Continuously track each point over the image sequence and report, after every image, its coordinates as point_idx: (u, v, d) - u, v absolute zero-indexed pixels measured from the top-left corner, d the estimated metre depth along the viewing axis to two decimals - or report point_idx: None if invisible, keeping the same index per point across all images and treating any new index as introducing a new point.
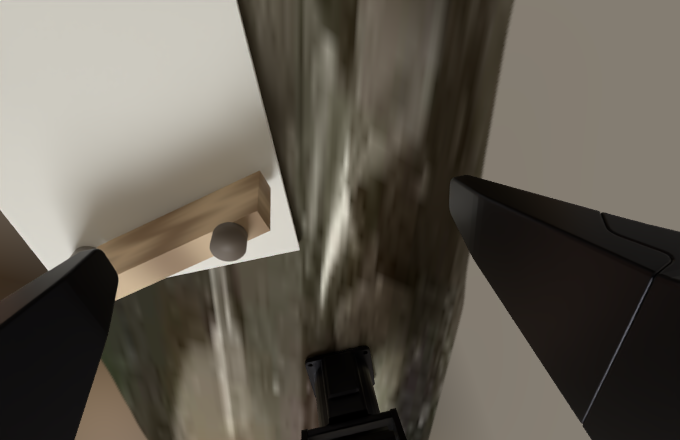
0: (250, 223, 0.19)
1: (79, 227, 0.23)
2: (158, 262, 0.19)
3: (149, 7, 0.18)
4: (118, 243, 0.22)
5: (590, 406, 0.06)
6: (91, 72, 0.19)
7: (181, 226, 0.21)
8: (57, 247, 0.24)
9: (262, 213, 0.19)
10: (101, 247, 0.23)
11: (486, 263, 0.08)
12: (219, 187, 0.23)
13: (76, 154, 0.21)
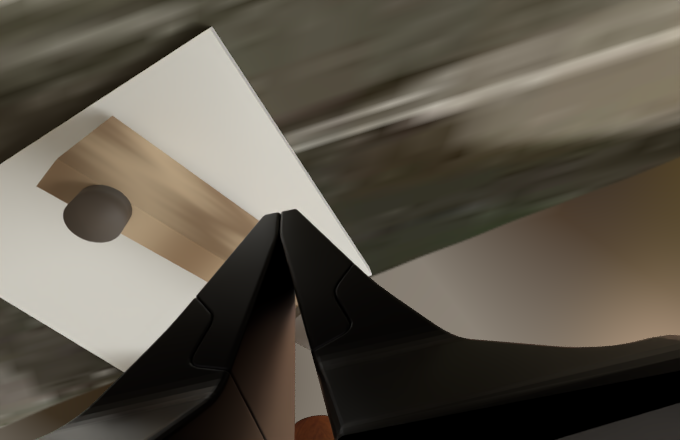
0: (64, 188, 0.12)
1: None
2: (196, 268, 0.15)
3: (12, 263, 0.20)
4: None
5: None
6: (105, 289, 0.22)
7: None
8: None
9: None
10: None
11: None
12: None
13: (193, 288, 0.23)
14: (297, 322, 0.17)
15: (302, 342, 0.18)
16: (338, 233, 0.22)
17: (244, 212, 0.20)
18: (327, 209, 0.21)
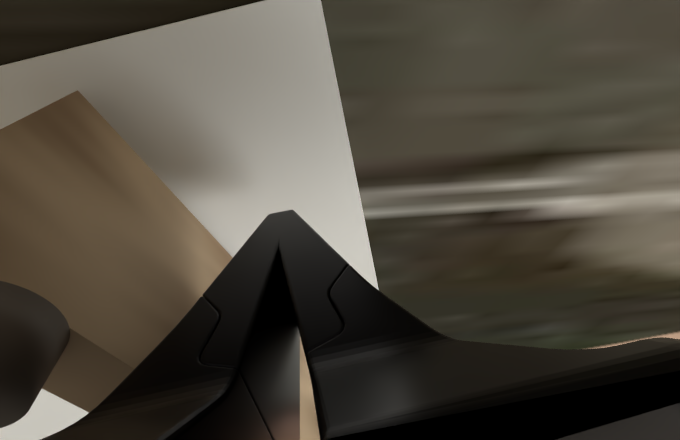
0: None
1: None
2: None
3: None
4: None
5: None
6: None
7: None
8: None
9: None
10: None
11: None
12: None
13: None
14: None
15: None
16: None
17: None
18: None
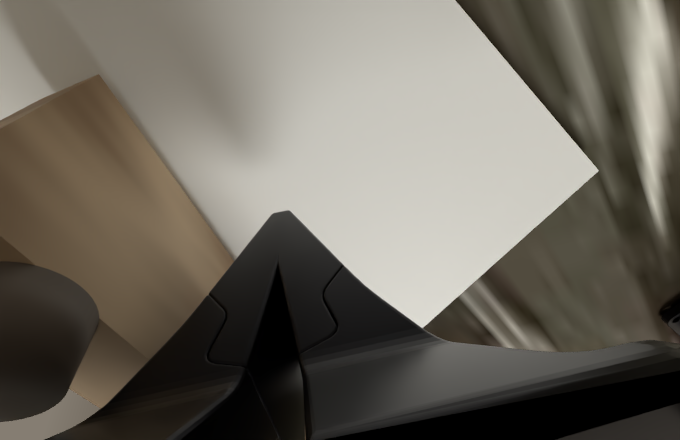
0: None
1: None
2: None
3: None
4: None
5: None
6: None
7: None
8: None
9: None
10: None
11: None
12: (402, 166, 0.11)
13: None
14: None
15: None
16: None
17: None
18: None
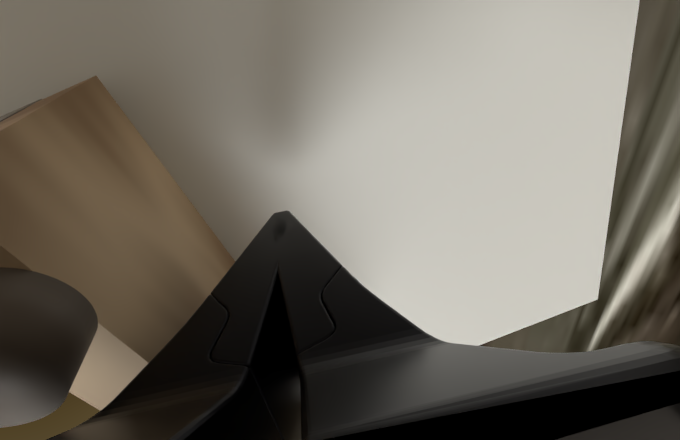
0: None
1: None
2: None
3: None
4: None
5: None
6: (345, 82, 0.09)
7: None
8: None
9: None
10: None
11: None
12: (511, 236, 0.14)
13: None
14: None
15: None
16: None
17: None
18: None
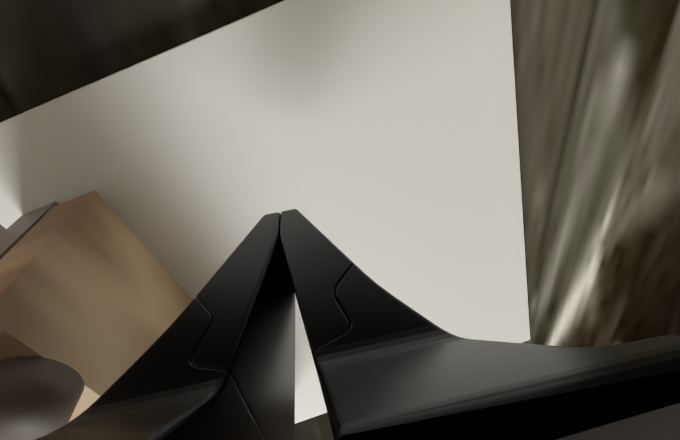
0: None
1: None
2: None
3: (376, 68, 0.11)
4: None
5: None
6: (284, 183, 0.12)
7: None
8: None
9: None
10: None
11: None
12: (440, 290, 0.16)
13: None
14: None
15: None
16: (314, 413, 0.20)
17: None
18: None
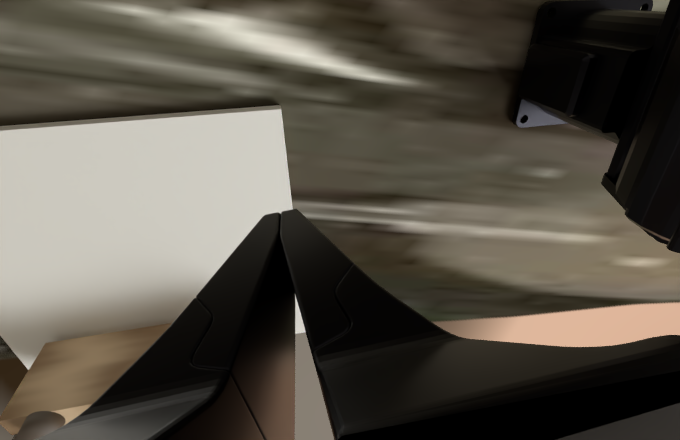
0: (20, 427, 0.19)
1: None
2: None
3: None
4: None
5: None
6: (52, 271, 0.21)
7: None
8: None
9: None
10: None
11: None
12: (173, 192, 0.19)
13: (142, 296, 0.23)
14: None
15: None
16: None
17: (167, 326, 0.24)
18: None
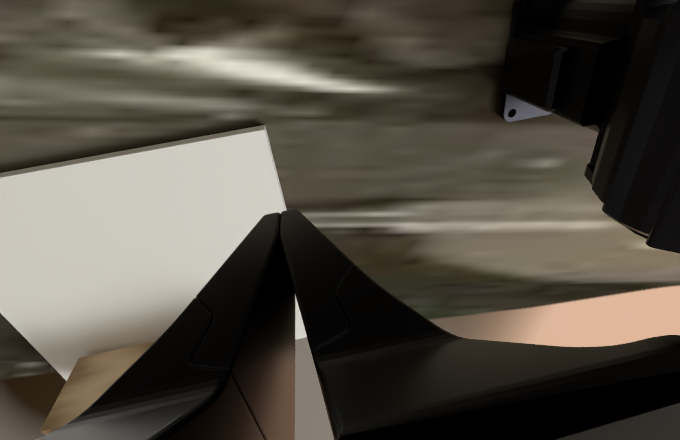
0: None
1: None
2: None
3: None
4: None
5: None
6: (76, 293, 0.23)
7: None
8: None
9: None
10: None
11: None
12: (174, 215, 0.21)
13: (159, 311, 0.25)
14: None
15: None
16: None
17: None
18: None
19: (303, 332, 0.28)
